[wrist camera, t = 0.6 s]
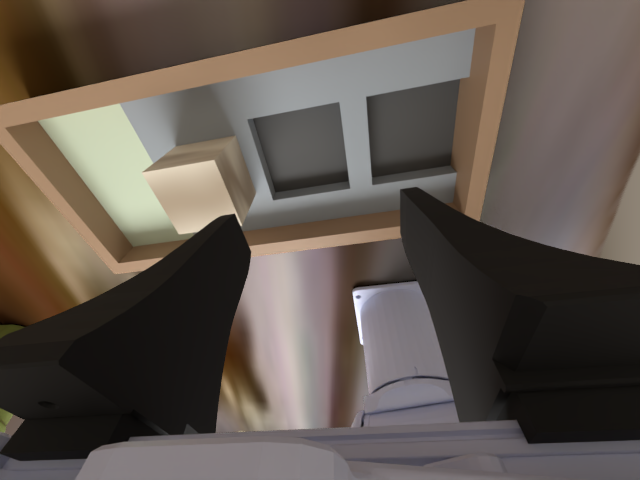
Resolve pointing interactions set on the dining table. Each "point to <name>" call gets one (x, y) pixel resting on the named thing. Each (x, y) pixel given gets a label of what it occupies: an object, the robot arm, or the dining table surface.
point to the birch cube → (202, 183)
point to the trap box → (284, 132)
